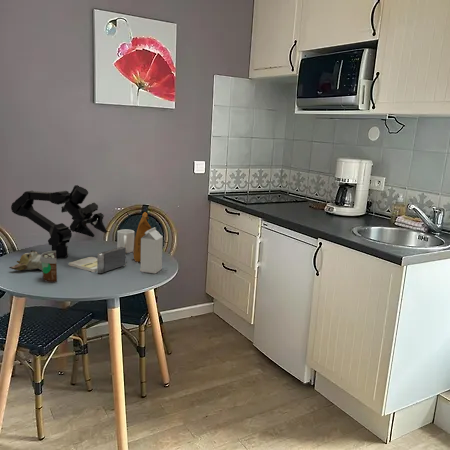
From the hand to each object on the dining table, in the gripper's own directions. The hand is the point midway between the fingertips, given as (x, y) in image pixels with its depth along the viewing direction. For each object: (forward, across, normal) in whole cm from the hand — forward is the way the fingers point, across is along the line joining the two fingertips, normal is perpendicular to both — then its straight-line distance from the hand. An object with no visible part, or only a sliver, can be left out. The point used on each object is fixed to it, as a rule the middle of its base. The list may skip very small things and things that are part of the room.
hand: (100, 234), depth 204 cm
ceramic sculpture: (-8, -21, +23) cm, 32 cm away
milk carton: (+28, +3, -3) cm, 28 cm away
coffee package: (+18, +17, +4) cm, 25 cm away
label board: (+6, -4, +12) cm, 14 cm away
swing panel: (+15, -5, +6) cm, 17 cm away
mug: (+7, +22, +12) cm, 26 cm away
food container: (+4, -27, +14) cm, 31 cm away
